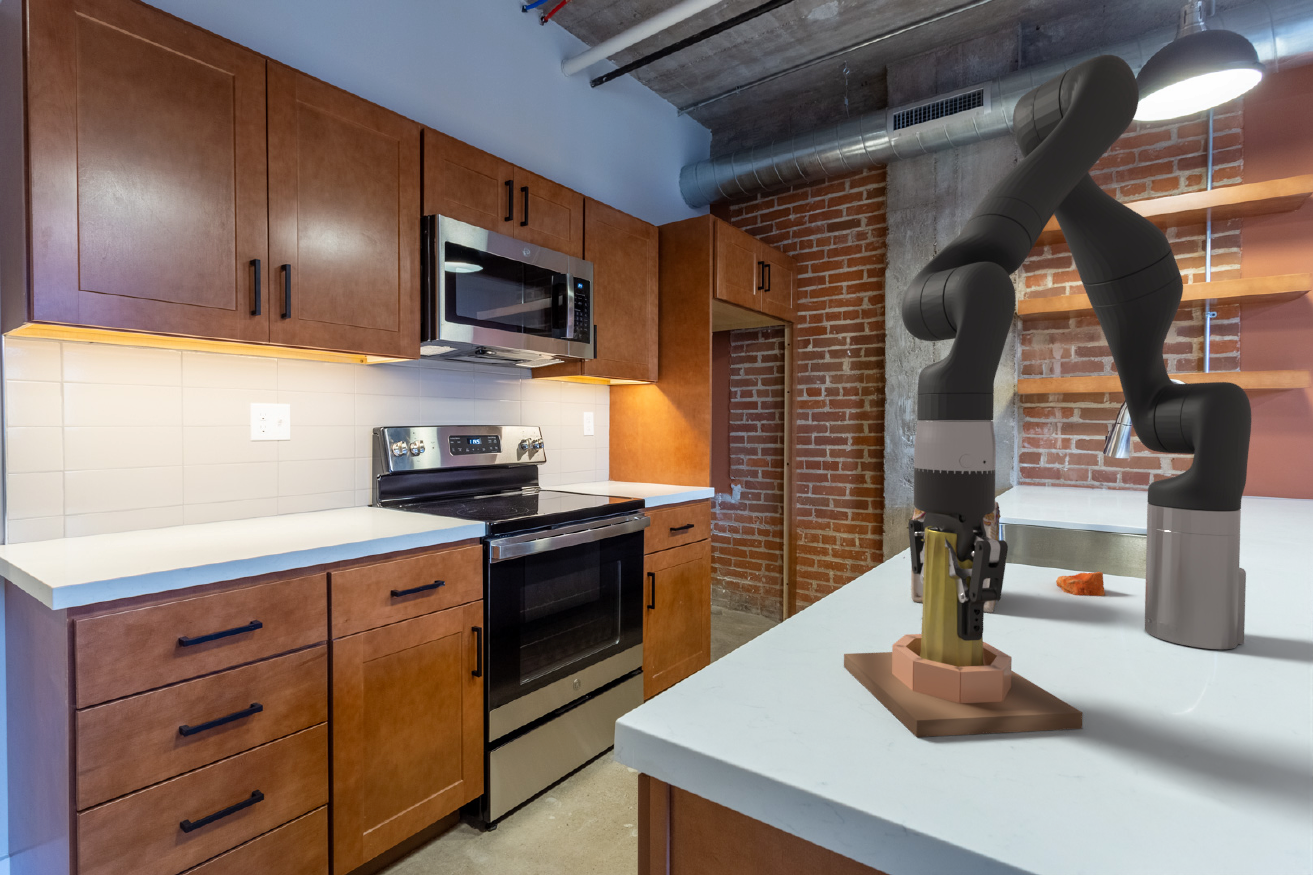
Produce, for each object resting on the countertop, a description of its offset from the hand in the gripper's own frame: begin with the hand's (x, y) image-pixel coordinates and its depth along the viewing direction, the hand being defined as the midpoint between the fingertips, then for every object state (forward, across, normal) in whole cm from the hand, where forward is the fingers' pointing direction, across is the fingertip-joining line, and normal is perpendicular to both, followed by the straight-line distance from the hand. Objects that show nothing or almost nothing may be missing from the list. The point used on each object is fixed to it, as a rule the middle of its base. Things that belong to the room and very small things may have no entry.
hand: (951, 628), depth 64 cm
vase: (+4, 0, 0) cm, 4 cm away
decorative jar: (+7, +33, -21) cm, 40 cm away
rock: (+8, +35, -44) cm, 57 cm away
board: (+7, 0, 0) cm, 7 cm away
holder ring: (+5, 0, 0) cm, 5 cm away
